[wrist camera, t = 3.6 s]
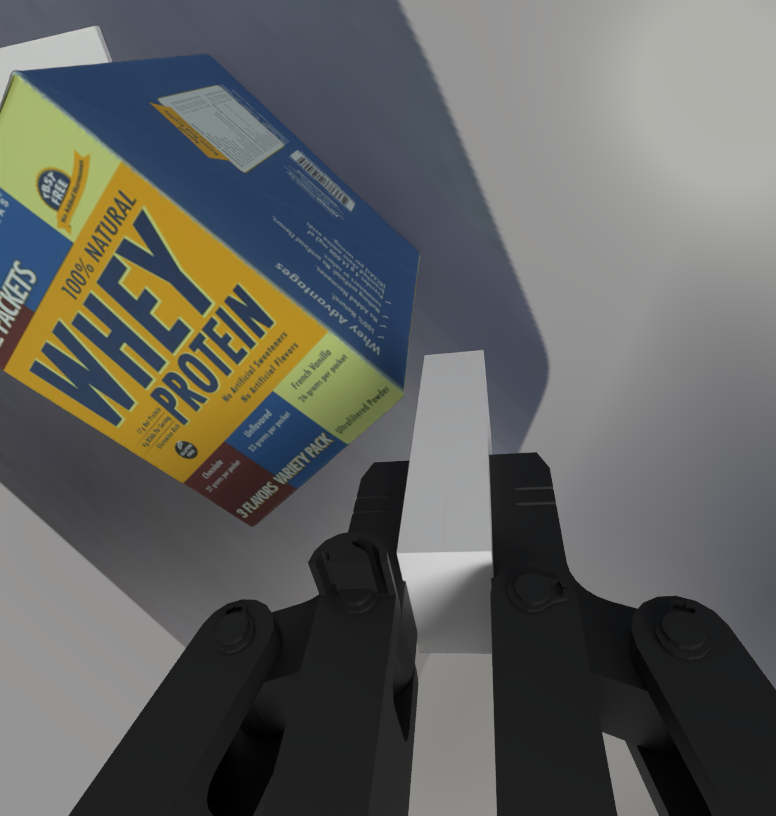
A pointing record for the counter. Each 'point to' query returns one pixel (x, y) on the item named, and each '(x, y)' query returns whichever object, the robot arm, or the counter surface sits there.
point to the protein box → (194, 276)
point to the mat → (54, 53)
